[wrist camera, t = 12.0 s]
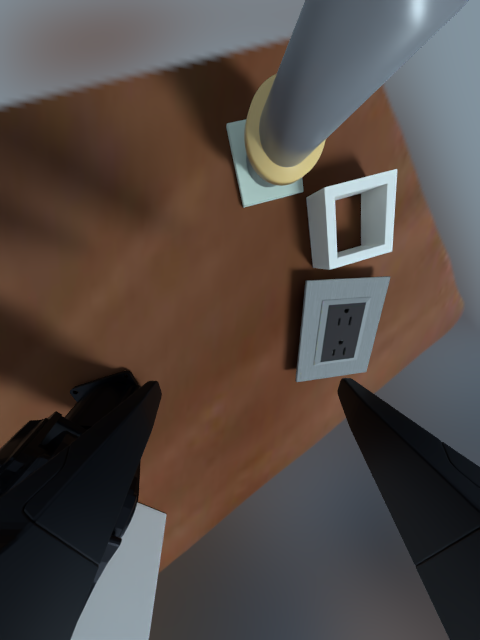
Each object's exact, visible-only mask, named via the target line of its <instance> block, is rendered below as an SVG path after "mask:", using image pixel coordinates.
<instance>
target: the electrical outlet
mask: <svg viewBox="0 0 480 640" xmlns="http://www.w3.org/2000/svg"><path fill="white" fill-rule="evenodd" d="M389 280H390V277H388V276H387V277H367V278H347V279H327V280H306V282H305V292H304V302H303V312H302V321H301V331H300V341H299V351H298V361H297V371H296V380H295V381H296V382H301V381H307V380H314V379H321V378H328V377H334V376H341V375H348V374H354V373H361V372H366V371H367V367H368V363H369V359H370V355H371V351H372V347H373V343H374V339H375V335H376V331H377V327H378V324H379V320H380V316H381V312H382V308H383V304H384V300H385V296H386V292H387V288H388V284H389Z"/></svg>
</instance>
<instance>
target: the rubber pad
mask: <svg viewBox="0 0 480 640" xmlns="http://www.w3.org/2000/svg"><path fill="white" fill-rule="evenodd" d="M245 123H246V119H245V120H241V121H236V122H231V123H227V126H226V128H227V133H228V138H229V142H230V147H231V152H232V157H233V161H234V166H235V171H236V176H237V180H238V185H239V190H240V195H241V199H242V204H243V208H244V207H248V206H252V205H255V204H259V203H263V202H267V201H271V200H275V199H279V198H283V197H287V196H291V195H295V194H299V193H302V192H303V181H302V178H300V179H299V180H298V181H296V182H294V183H292V184H289V185H283V186H279V185H276V186H274V187H263V186H260V185H259V184H257V183H256V182H255V181H254V180H253V179H252V177H251V176H250V174H249V172H248V168H247V163H246V155H247V153H246V148H245V141H244V130H245Z"/></svg>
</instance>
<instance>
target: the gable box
mask: <svg viewBox="0 0 480 640" xmlns="http://www.w3.org/2000/svg"><path fill="white" fill-rule="evenodd" d="M165 522H166V514H165V513H163V512H160V511H158V510H155V509H153V508H150V507H148V506H145V505H143V504H141V503H138V502H137V506H136V509H135V512H134V515H133V517H132V520H131V522H130V524H129V526H128V528H127V530H126V531H125V533H124V535H123V536H122V542H121V544H120V546H119V548H118V549H117V551H116V552H115V553H114V555H113V556H112V558H111V559H110V561H109V562H108V564H107V565H106V567H105V569H104V571H103V572H102V574H101V576H100V577H99V579H98V581H97V583H96V585H95V587H94V589H93V591H92V593H91V595H90V597H89V599H88V601H87V603H86V605H85V607H84V609H83V611H82V613H81V616H80V618H79V620H78V622H77V624H76V627H75V630H74V632H73V635H72V637H71V640H149V633H150V626H151V619H152V611H153V605H154V598H155V591H156V584H157V577H158V570H159V563H160V556H161V549H162V543H163V536H164V529H165Z"/></svg>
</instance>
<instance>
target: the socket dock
mask: <svg viewBox="0 0 480 640" xmlns="http://www.w3.org/2000/svg"><path fill="white" fill-rule="evenodd" d="M396 181H397V169H395V170H391V171H387V172H383V173H379V174H375V175H371V176H367V177H363V178H360V179H356V180H352V181H348V182H344V183H340V184H336V185H332V186H328V187H324V188H323V189H321V190H319V191H317V192H315V193H313V194H312V195H310V196H308V197H306V200H307V211H308V221H309V231H310V242H311V252H312V263H313V268H320V269H328V270H330V269H334V268H337V267H341V266H344V265H347V264H351V263H354V262H357V261H361V260H364V259H368V258H371V257H374V256H378V255H381V254H385V253H388V252H391V251H392V246H393V230H394V213H395V197H396ZM357 194H361V246H358V247H354V248H351V249H347V250H344V251H340V252H337V237H336V215H335V200H338V199H342V198H346V197H350V196H353V195H357Z"/></svg>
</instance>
